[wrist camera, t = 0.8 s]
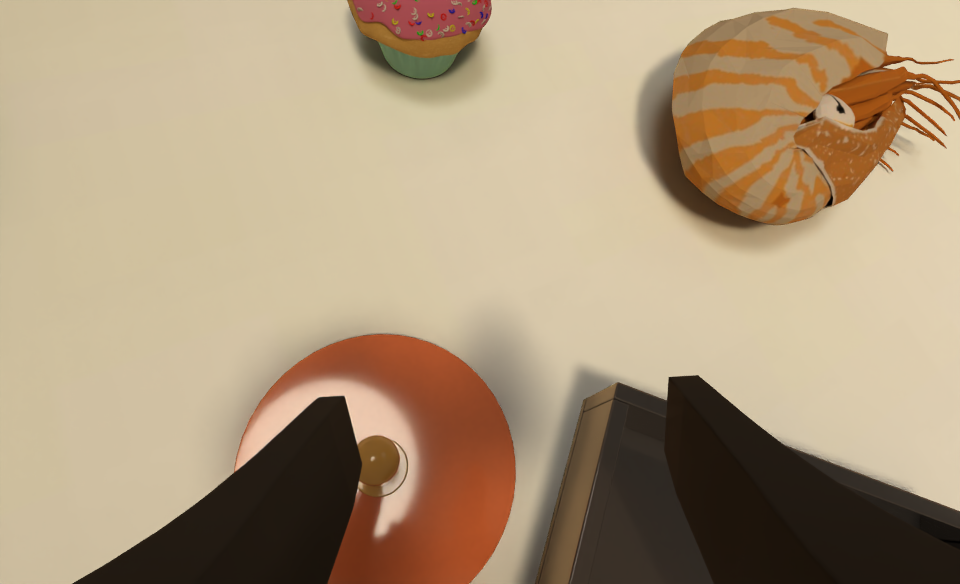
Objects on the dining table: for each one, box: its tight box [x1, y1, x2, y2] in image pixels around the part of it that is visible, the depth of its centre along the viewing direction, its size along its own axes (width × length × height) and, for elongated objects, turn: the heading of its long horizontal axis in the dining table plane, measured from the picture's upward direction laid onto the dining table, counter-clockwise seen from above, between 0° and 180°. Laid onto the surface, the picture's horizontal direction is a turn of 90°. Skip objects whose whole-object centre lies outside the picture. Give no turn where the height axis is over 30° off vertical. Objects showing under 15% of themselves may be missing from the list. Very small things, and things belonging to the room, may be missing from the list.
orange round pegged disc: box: [234, 334, 516, 584], centre depth 22 cm, size 13×13×7 cm
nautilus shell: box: [672, 8, 960, 225], centre depth 33 cm, size 8×22×15 cm
